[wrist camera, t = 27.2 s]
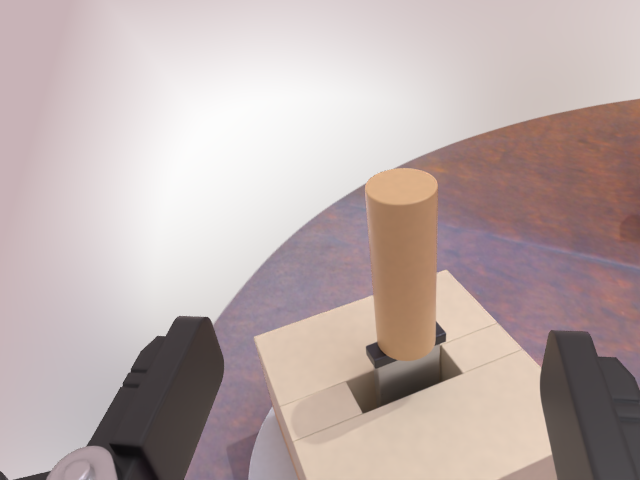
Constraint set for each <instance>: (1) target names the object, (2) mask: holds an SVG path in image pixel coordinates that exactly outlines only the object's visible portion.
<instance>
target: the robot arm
mask: <svg viewBox="0 0 640 480" xmlns="http://www.w3.org/2000/svg"><path fill="white" fill-rule="evenodd" d="M223 373H224V359H223V355H222V352H221V349H220V346H219V343H218V340H217V337H216V334H215V331H214V328H213V325H212V322H211V320H210V319H209V318H208V317H190V316H179V317H177V318H176V319H175V320H174V322H173V324H172V326H171V327H170V329H169V331H168V333H167V335H166V336H157V337H156V338H155V339H154V340H153V341H152V342H151V343H150V344H148V345H147V346H146V347H145V348H144V349H143V350H142V351H141V352H140V354H139V356H138V358H137V359H136V361H135V363H134V365H133V366H132V368H131V372H130V373H128V375H127V377H126V378H125V380H124V382H123V386H122V387H120V389H119V391H118V393H117V394H116V396H115V398H114V400H113V402H112V403H111V405H110V407H109V408H108V410H107V412H106V414H105V415H104V417H103V419H102V421H101V422H100V424H99V426H98V428H97V429H96V431H95V433H94V435H93V436H92V438H91V440H90V441H89V443H88V445H87V446H86V447H83V448H80V449H77V450H75V451H73V452H71V453H70V454H68V455H66V456H65V457H64V458H63V459H61V460H60V461H59V462H58V463H57V464H56V465H55V466H54V468H53V469H52V470H51V471H49V472H45V473H40V474H36V475H32V476H28V477H23V478H19V479H15V480H184V478H185V475H186V473H187V470H188V468H189V465H190V462H191V460H192V457H193V455H194V452H195V449H196V447H197V444H198V442H199V439H200V436H201V434H202V431H203V429H204V426H205V423H206V421H207V418H208V416H209V413H210V410H211V408H212V405H213V403H214V400H215V397H216V395H217V392H218V390H219V387H220V384H221V382H222V378H223ZM540 397H541V404H542V408H543V413H544V418H545V423H546V427H547V432H548V437H549V442H550V446H551V451H552V456H553V461H554V465H555V470H556V475H557V480H640V390H639V387H638V385H637V382H636V380H635V378H634V376H633V375H632V374H631V373H630V372H629V371H628V370H627V369H626V368H625V367H624V366H623V365H622V363H621V362H620V361H619V360H618V359H617V358H616V357H598V355H597V353H596V350H595V347H594V344H593V341H592V338H591V336H590V334H589V333H588V332H583V331H555V330H551V331H550V332H549V335H548V340H547V345H546V349H545V354H544V359H543V364H542V369H541V374H540ZM0 480H8V479H7V478H6V476H5V475H4V474H3V473H2V472H1V471H0Z"/></svg>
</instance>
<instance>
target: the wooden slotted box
mask: <svg viewBox="0 0 640 480" xmlns="http://www.w3.org/2000/svg"><path fill="white" fill-rule="evenodd" d="M436 321H437V323H438V324H439V325H440V326H441V327H442V329H443V330H444V331H445V332H446V342H444V343H441V344H440V358H439V384H436V385H434V386H431V387H429V388H426V389H424V390H421V391H419V392H416V393H414V394H411V395H409V396H407V397H404V398H402V399H399V400H397V401H394V402H392V403H389V404H387V405H384V406H382V407H379V408H377V402H376V391H375V380H374V369H373V364H372V363H371V361H370V360H369V358H368V356H367V355H366V346H367V345H370V344H372V343H375V342H377V334H376V322H375V310H374V297H373V295H372V296H369V297H366V298H363V299H361V300H358V301H355V302H352V303H349V304H346V305H343V306H341V307H338V308H335V309H332V310H329V311H326V312H323V313H321V314H318V315H315V316H312V317H309V318H306V319H303V320H301V321H298V322H295V323H292V324H289V325H286V326H283V327H281V328H278V329H275V330H272V331H269V332H266V333H263V334H261V335H258V336H255V337H254V341H255V344H256V348H257V351H258V355H259V358H260V362H261V366H262V369H263V373H264V376H265V380H266V384H267V387H268V391H269V394H270V398H271V402H272V405H273V409H274V412H275V416H276V418H277V421H278V424H279V427H280V430H281V432H282V435H283V438H284V441H285V444H286V447H287V449H288V452H289V455H290V458H291V461H292V463H293V466H294V469H295V472H296V475H297V477H298V480H557V475H556V470H555V465H554V461H553V456H552V451H551V446H550V442H549V437H548V432H547V427H546V423H545V418H544V413H543V408H542V404H541V397H540V374H541V369H542V368H541V367H540V366H539V365H538V364H537V363H536V362H535V361H534V360H533V359H532V358H531V357H530V356H529V355H528V354H527V353H526V352H525V351H524V350H522V348H521V347H520V346H519V345H518V344H517V342H516V341H515V340H514V339H513V338H512V337H511V336H510V335H509V334H508V333H507V332H506V331H505V330H504V329H503V328H502V327H501V326H500V325H499V324H497V322H496V321H495V320H494V319H493V318H492V316H491V315H490V314H489V313H488V312H487V311H486V310H485V309H484V308H483V307H482V306H481V305H480V304H479V303H478V302H477V301H476V300H475V299H474V298H473V297H472V296H471V295H470V294H469V293H468V292H467V290H466V289H465V288H464V287H463V286H462V285H461V284H460V283H459V282H458V281H457V280H456V279H455V278H454V277H453V276H452V275H451V274H450V273H449V272H448V271H447V270H443V271H441V272H438V273H437V280H436Z"/></svg>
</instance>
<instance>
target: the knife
mask: <svg viewBox="0 0 640 480" xmlns="http://www.w3.org/2000/svg"><path fill="white" fill-rule="evenodd" d="M365 198H366V210H367V223H368V235H369V248H370V260H371V272H372V285H373V297H374V310H375V322H376V334H377V342H375V343H372V344H370V345H367V346H366V355H367V356H368V358H369V360H370V361H371V363H372V364H373V369H374V380H375V391H376V402H377V408H379V407H382V406H384V405H387V404H389V403H392V402H394V401H397V400H399V399H402V398H404V397H407V396H409V395H411V394H414V393H416V392H419V391H421V390H424V389H426V388H429V387H431V386H434V385H436V384H439V358H440V344H441V343H444V342H446V332H445V331H444V330H443V329H442V327H441V326H440V325H439V324H438V323H437V321H436V280H437V211H438V184H437V181H436V179H435V178H434V177H433V176H432V175H430V174H429V173H427V172H424V171H421V170H417V169H410V168H398V169H391V170H387V171H384V172H380V173H378V174H376V175H374V176H373V177H371V178H370V179H369V180H368V182H367V183H366V186H365Z"/></svg>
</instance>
